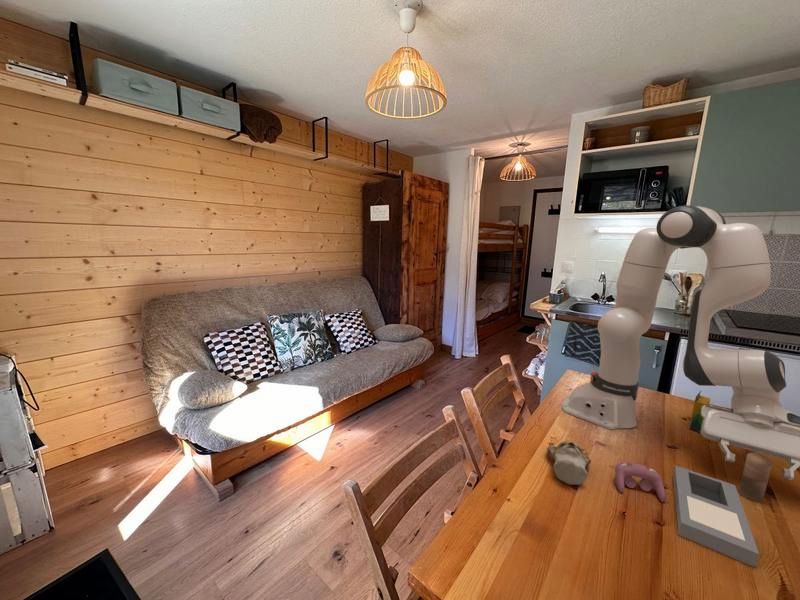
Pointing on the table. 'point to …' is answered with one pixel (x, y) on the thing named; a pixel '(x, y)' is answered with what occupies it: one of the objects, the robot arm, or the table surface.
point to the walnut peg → (755, 477)
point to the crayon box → (698, 412)
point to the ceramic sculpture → (569, 462)
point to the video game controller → (637, 470)
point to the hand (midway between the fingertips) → (757, 469)
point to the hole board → (713, 515)
